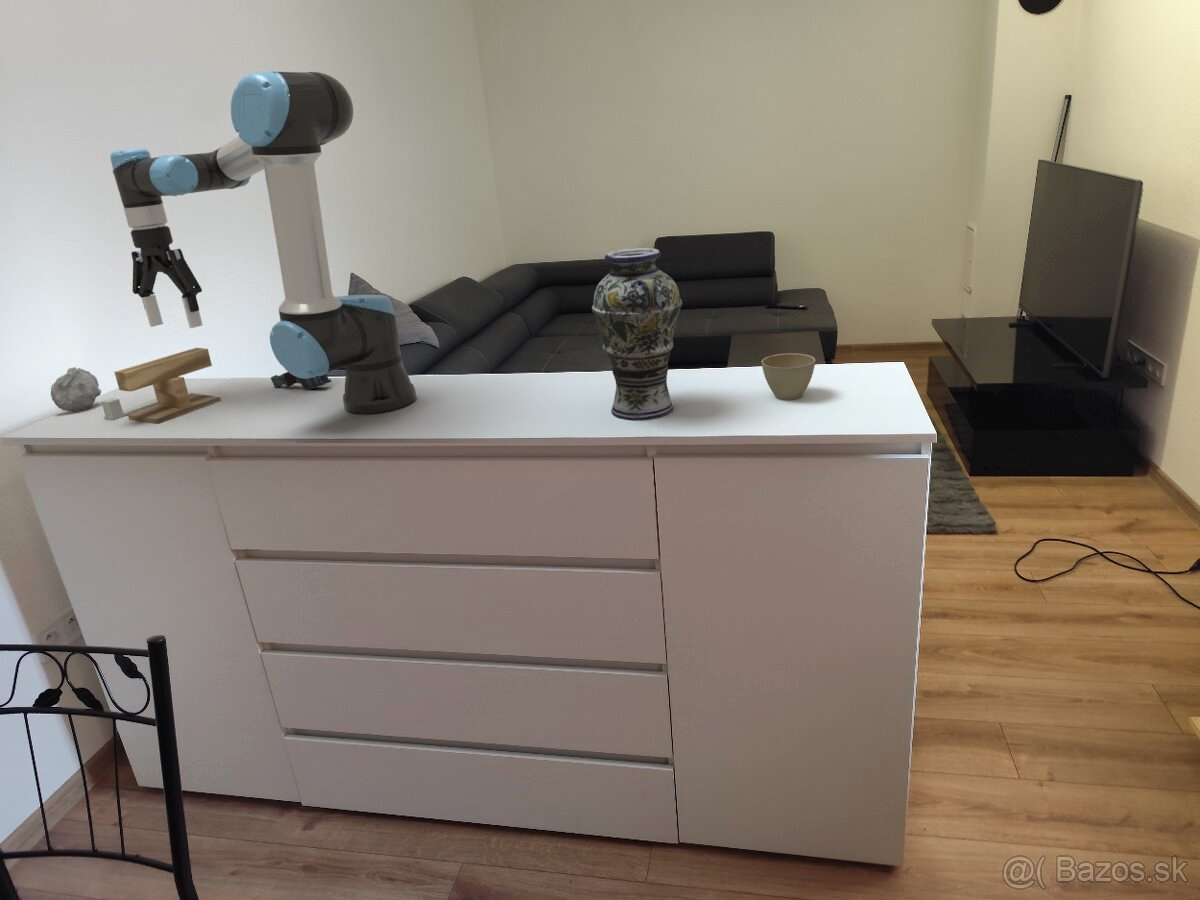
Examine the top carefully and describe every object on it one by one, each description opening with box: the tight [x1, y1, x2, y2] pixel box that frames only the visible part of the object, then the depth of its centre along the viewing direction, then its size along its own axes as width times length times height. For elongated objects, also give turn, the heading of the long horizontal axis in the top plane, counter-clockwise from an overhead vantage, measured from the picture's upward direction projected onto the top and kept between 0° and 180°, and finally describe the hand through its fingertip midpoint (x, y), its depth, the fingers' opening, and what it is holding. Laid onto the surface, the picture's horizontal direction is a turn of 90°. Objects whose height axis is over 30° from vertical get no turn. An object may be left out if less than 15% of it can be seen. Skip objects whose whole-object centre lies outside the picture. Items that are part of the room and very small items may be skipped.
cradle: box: [100, 397, 158, 421], centre depth 194 cm, size 3×19×4 cm, turn 151°
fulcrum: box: [127, 376, 222, 424], centre depth 189 cm, size 10×16×8 cm, turn 151°
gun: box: [270, 371, 332, 391], centre depth 197 cm, size 3×17×15 cm
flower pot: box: [761, 352, 816, 401], centre depth 164 cm, size 10×10×7 cm
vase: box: [591, 247, 683, 421], centre depth 159 cm, size 17×17×30 cm
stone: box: [50, 367, 102, 412], centre depth 195 cm, size 9×7×10 cm
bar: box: [114, 347, 213, 392], centre depth 187 cm, size 4×20×4 cm, turn 152°
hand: (176, 326), depth 188 cm, fingers open, 13 cm apart
